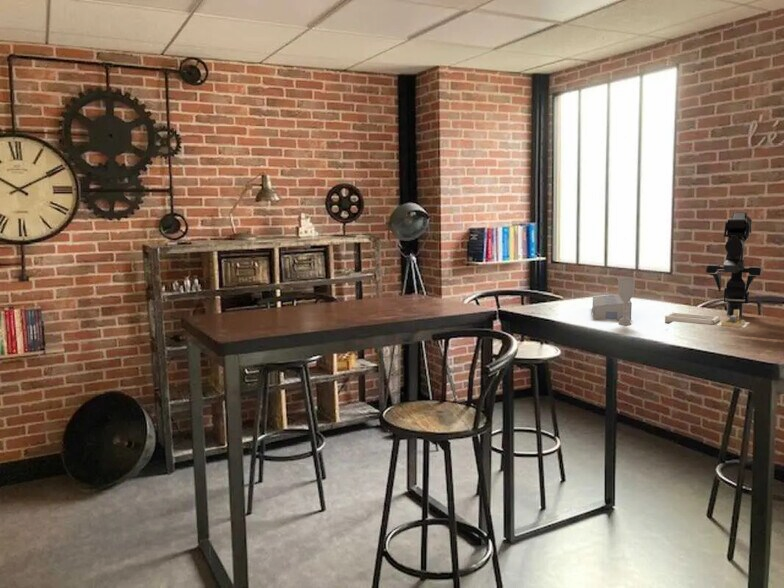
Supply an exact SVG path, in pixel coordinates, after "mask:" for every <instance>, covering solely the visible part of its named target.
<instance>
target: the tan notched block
mask: <svg viewBox="0 0 784 588" xmlns="http://www.w3.org/2000/svg"><path fill="white" fill-rule="evenodd" d="M733 315H737V318H736V319H735V323H734V322H729V320H730V318H725V319H723V320H721V321H722V322H721V321H720V322H721V325H720V326H722V325H725V326H724V327H733V326H737V327H736V328H741V327H740V326H742V325H743V324H744V323H745V322H746V321H745V319H740V316H739V310H738V309H735V310H734V314H733Z"/></svg>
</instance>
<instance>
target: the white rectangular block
mask: <svg viewBox="0 0 784 588" xmlns="http://www.w3.org/2000/svg"><path fill="white" fill-rule="evenodd" d="M736 318H737V315H732V316H729V319H730V320H729V322H734V323H735V319H736ZM722 321H723V320H721V321H719V322H718V323H717V324H716V326H724V327H726V326H725V325H721V322H722ZM750 323H751V322H749V321H745V323H744V324H743V325H742V326H740V327H739V328H746V327H747V326H748V325H749V324H750ZM732 327H734V328H738V327H737V326H732Z"/></svg>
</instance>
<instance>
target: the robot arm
mask: <svg viewBox="0 0 784 588" xmlns="http://www.w3.org/2000/svg"><path fill="white" fill-rule="evenodd" d="M724 223H725V225H724V233H723V237H724V238H727V239H726V240H727V241H726V242H725V245H724V249H725V250H726V257H725V259H724V262H723V266H721V264H712V263H711V264H709V265H706V268H705V270H706V271H705V272H706V273H708V274H709V275H710V276H712V277H713V278H714V281H715V283H716V286H717V289H718V292H721V290H722V273H721V272H723V273H727V274H728V273H731V275H730V279H728V281H727V282H726V287H724V289H723V290H724V291H723V303H727V307H726V309H727V310H726V314H725V316H729V317H730V316H732V315H733V314H734V310H735V309H738V310H739V317H745V314H743V313H744V311H743V310H744V304H749V302H750V301H749V299H750V291H749V289H750V287H751V285H752V283H753V281H754V280H755V278H757V277H759V276H762V274H763V272H764V268H763V267H762V266H757V265H756V266H755V265H751V266H749V267H745V266H746V263H745V259H744V258H745V246H746V245H745V244H746V242H747V241H748V240H749V239H750V234H752V229H753V220H752V219H751V218H750V217H749V216H748V212H745V211H735V212H733V213H732V217H731V218H727V221H725V222H724ZM744 273H745V274H746V273H747V274H748V275H747V277H746V279H747V280H746V283H745V281H744V279H743V274H744Z"/></svg>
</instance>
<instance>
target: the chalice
mask: <svg viewBox="0 0 784 588" xmlns="http://www.w3.org/2000/svg"><path fill="white" fill-rule="evenodd" d="M616 279H617V282H618V283H617V292H618V294H619V296H620V298H621V300H622V301H623V302H624V311H623V312H624V317H623V318H621V319H620V320H619V321H618V322H617V323H618V325H621V326H631V325H632V322H631V320H630V319H629V318H627V315H626V314H627V302H629V301H631V299H632V298H633V296H634V293H635V287H636V286H635V285H636V283H635V282H636V280H637V278H635V277H617V278H616Z"/></svg>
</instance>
